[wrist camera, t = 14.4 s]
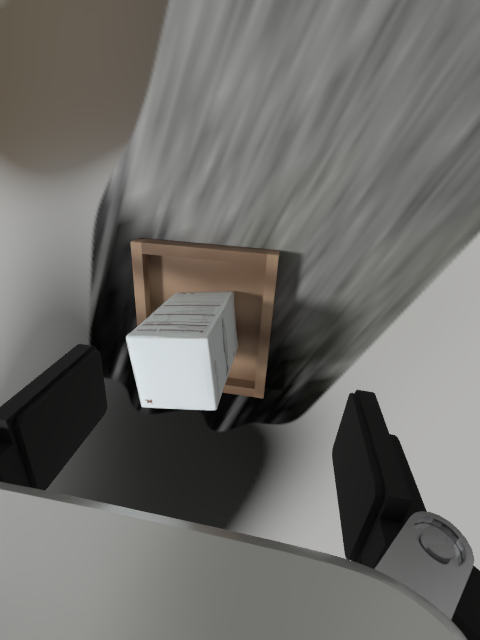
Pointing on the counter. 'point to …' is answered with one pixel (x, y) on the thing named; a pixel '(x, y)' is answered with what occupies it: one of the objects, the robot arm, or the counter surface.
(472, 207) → the counter surface
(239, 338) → the walnut tray
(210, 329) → the supplement box
